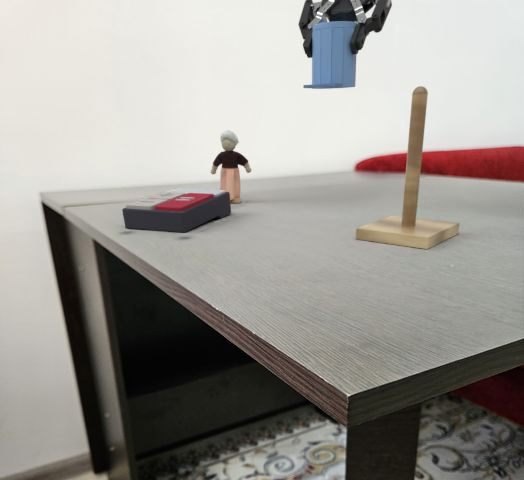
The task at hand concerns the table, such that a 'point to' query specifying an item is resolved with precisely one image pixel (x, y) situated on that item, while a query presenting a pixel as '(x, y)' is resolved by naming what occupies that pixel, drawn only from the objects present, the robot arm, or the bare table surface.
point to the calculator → (177, 209)
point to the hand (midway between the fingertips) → (330, 51)
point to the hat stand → (411, 196)
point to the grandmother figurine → (230, 166)
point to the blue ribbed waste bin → (333, 55)
